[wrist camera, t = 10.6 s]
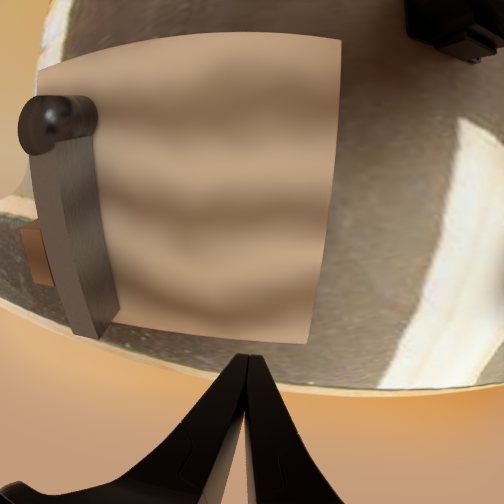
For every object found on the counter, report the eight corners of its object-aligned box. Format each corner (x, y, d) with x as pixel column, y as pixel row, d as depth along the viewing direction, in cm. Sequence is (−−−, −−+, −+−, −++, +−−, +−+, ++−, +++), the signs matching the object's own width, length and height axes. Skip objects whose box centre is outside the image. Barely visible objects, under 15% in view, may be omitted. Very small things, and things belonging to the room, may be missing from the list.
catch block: (51, 210, 19) (19, 228, 16) (72, 210, 19) (39, 229, 16) (61, 259, 21) (33, 282, 18) (81, 262, 21) (54, 286, 17)
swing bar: (59, 101, 15) (17, 103, 11) (97, 90, 15) (56, 88, 11) (91, 304, 22) (65, 336, 18) (126, 309, 22) (102, 344, 18)
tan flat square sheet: (45, 71, 15) (38, 71, 14) (338, 44, 14) (341, 40, 13) (74, 307, 25) (69, 312, 24) (305, 335, 23) (306, 343, 23)
